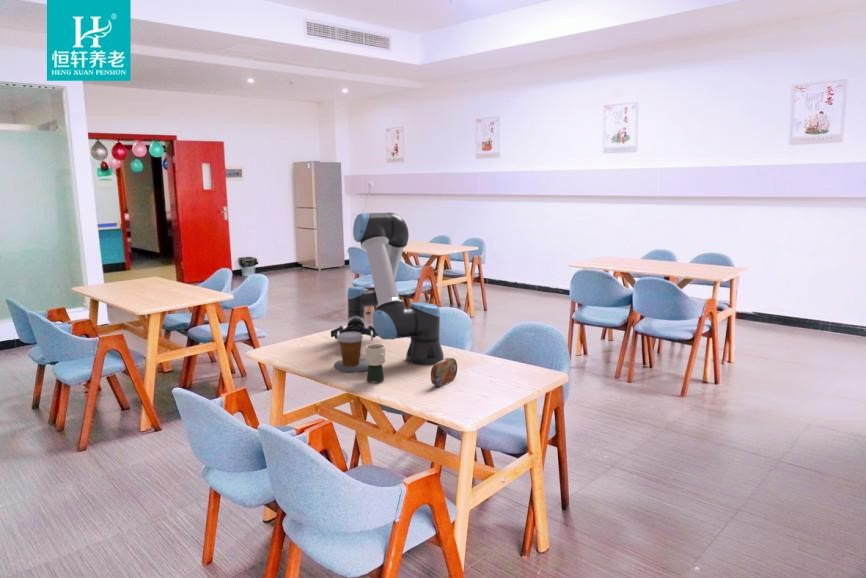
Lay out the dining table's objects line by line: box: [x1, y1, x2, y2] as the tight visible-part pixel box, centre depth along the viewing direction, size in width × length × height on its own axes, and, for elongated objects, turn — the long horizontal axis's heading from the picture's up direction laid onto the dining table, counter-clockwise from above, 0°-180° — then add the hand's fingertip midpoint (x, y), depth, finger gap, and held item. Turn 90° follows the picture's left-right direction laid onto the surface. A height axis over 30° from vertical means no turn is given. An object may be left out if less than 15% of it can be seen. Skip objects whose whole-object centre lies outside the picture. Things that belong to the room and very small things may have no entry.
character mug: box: [364, 343, 386, 383], centre depth 213 cm, size 11×7×13 cm, turn 39°
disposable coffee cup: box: [338, 332, 364, 367], centre depth 230 cm, size 10×10×12 cm
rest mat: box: [333, 358, 369, 374], centre depth 231 cm, size 16×16×1 cm
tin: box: [430, 357, 458, 388], centre depth 212 cm, size 15×3×8 cm, turn 148°
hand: (355, 338), depth 239 cm, fingers open, 13 cm apart
